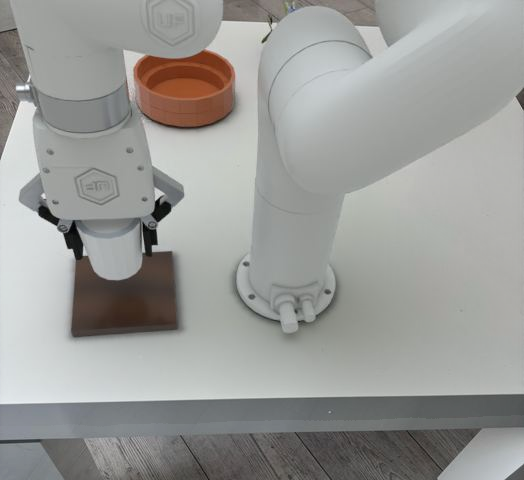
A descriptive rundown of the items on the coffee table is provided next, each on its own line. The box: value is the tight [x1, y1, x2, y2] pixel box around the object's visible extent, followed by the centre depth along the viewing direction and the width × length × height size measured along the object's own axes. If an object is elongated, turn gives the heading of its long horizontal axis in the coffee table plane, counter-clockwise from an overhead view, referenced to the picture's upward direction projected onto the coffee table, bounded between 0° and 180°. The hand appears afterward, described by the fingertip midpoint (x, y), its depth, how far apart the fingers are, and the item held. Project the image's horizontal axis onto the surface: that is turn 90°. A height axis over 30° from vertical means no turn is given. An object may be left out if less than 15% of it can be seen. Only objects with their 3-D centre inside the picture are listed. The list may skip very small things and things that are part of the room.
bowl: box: [132, 48, 236, 128], centre depth 90 cm, size 16×16×5 cm
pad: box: [70, 250, 178, 338], centre depth 66 cm, size 12×12×1 cm
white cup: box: [74, 217, 143, 280], centre depth 59 cm, size 7×7×7 cm
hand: (114, 248), depth 60 cm, fingers closed on white cup, 6 cm apart
